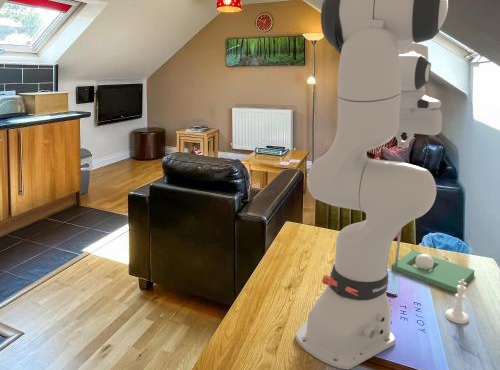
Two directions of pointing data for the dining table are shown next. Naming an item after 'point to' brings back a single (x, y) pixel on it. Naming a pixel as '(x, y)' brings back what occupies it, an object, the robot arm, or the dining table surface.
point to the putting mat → (440, 276)
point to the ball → (424, 262)
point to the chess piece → (458, 306)
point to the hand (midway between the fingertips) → (403, 146)
